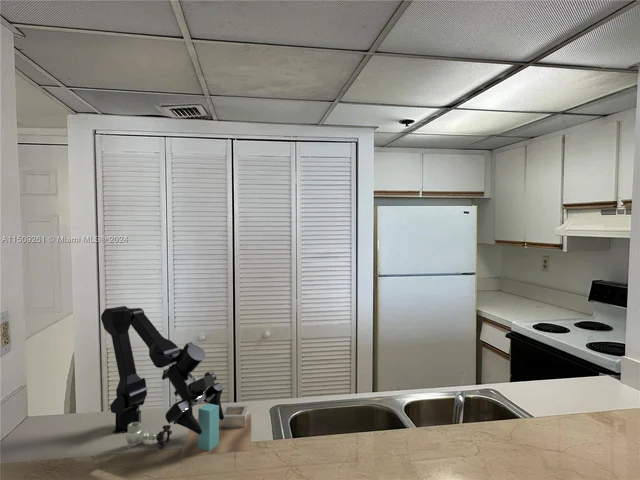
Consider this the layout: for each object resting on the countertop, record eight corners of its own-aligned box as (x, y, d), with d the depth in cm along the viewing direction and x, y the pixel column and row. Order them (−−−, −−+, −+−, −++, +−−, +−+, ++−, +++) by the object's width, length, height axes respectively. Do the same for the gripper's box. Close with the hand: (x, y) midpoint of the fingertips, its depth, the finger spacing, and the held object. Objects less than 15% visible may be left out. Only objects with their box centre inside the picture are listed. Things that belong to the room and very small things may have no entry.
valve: (120, 453, 104) (160, 455, 102) (120, 429, 104) (160, 431, 103) (133, 441, 110) (172, 442, 109) (134, 419, 110) (172, 420, 109)
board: (179, 461, 99) (179, 457, 99) (193, 422, 121) (193, 419, 122) (251, 454, 102) (251, 449, 102) (251, 417, 125) (251, 414, 125)
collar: (218, 427, 115) (218, 416, 115) (224, 416, 124) (224, 405, 124) (244, 427, 116) (244, 416, 116) (248, 415, 124) (248, 405, 124)
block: (198, 447, 104) (198, 408, 104) (207, 441, 107) (208, 403, 108) (209, 450, 102) (209, 411, 102) (218, 444, 106) (218, 405, 106)
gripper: (173, 374, 98) (205, 423, 94) (219, 356, 115) (248, 397, 111) (152, 399, 101) (182, 448, 97) (199, 378, 118) (227, 418, 114)
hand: (212, 426), depth 104 cm, fingers open, 9 cm apart
